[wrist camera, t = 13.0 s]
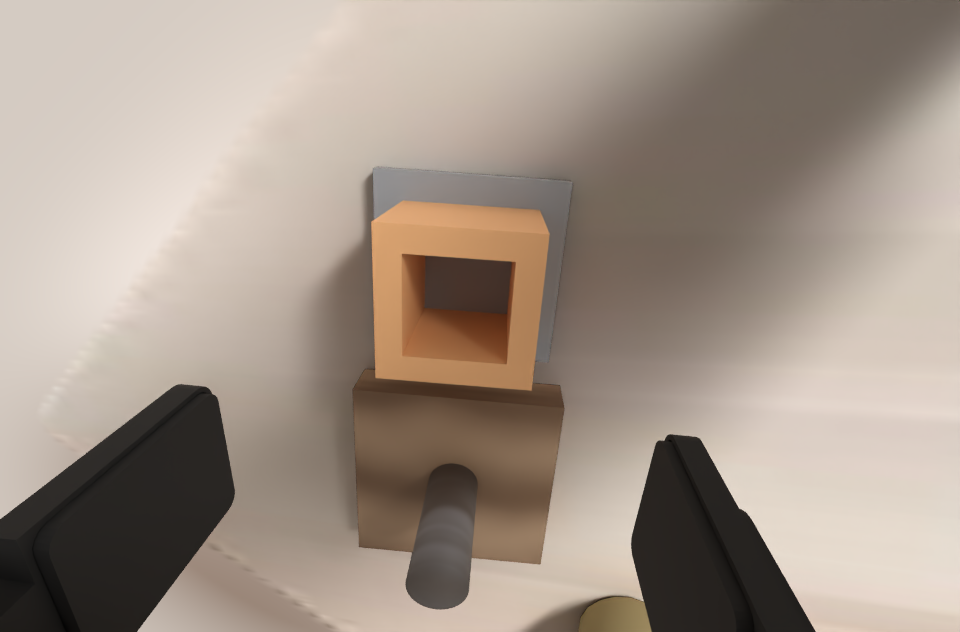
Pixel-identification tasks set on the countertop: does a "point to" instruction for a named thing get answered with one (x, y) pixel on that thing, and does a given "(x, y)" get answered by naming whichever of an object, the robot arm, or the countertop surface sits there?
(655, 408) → the countertop surface
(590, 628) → the squeeze bottle
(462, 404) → the stand
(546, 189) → the pad
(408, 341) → the collar
